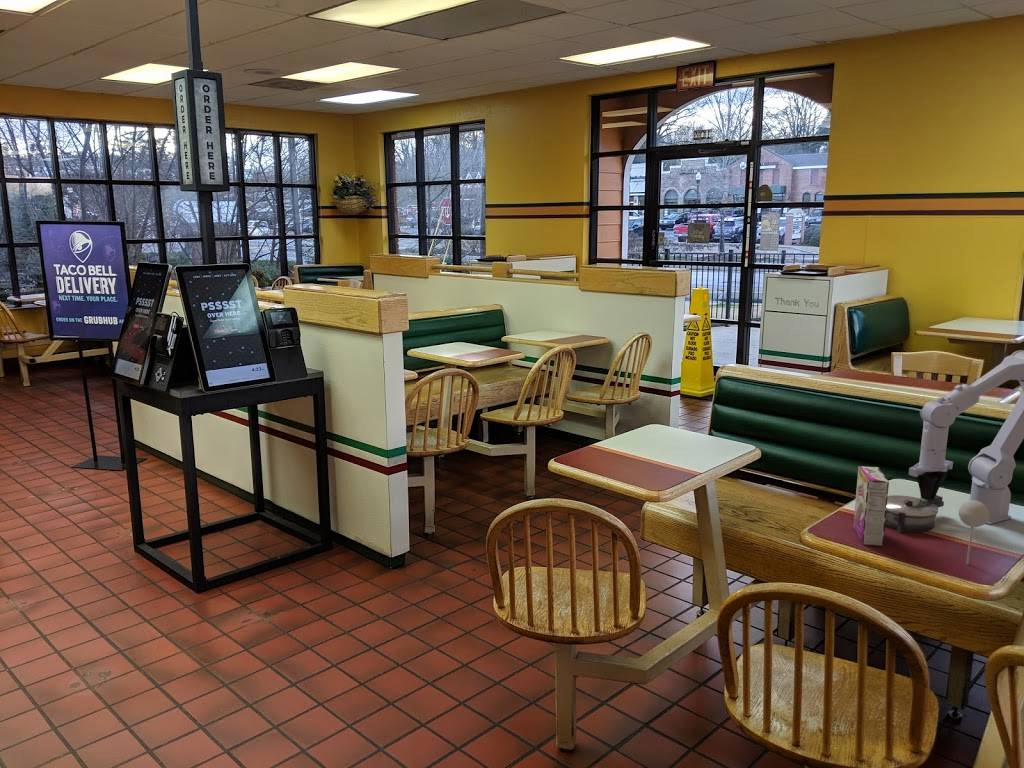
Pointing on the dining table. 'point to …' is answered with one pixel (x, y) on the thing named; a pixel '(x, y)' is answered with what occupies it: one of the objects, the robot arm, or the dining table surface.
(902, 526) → the pot
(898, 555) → the dining table surface
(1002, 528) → the dining table surface
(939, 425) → the robot arm
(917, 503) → the lid
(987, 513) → the lollipop
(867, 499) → the candy bar box
